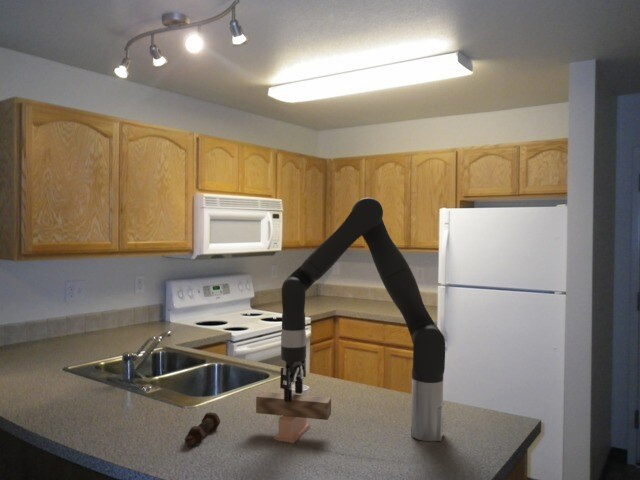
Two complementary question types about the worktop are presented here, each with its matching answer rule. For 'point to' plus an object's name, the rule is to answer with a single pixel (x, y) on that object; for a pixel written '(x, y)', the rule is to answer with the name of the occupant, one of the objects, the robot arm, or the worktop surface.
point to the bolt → (202, 429)
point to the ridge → (291, 428)
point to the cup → (305, 390)
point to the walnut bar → (294, 405)
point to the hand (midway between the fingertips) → (293, 397)
